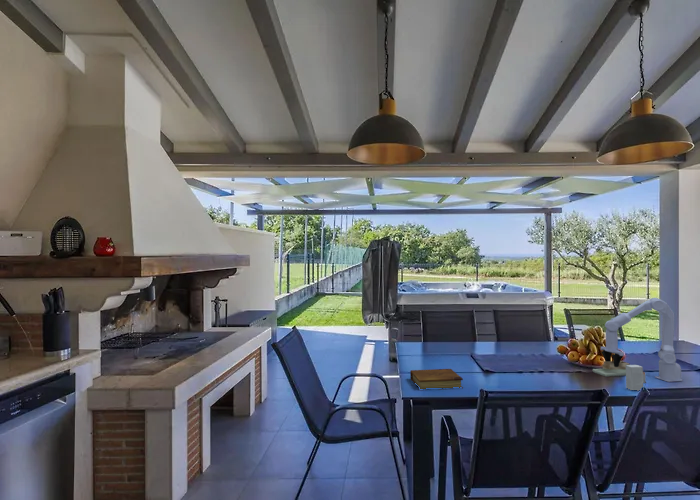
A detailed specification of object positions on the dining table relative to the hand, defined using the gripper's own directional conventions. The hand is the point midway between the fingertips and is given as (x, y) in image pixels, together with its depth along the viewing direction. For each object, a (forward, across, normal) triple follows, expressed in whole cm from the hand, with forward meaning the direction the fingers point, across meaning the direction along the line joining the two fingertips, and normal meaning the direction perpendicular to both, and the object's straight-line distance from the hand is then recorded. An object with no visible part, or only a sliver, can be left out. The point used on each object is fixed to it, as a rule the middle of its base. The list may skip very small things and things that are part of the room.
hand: (612, 365), depth 228 cm
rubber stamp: (+4, +17, +3) cm, 18 cm away
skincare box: (+5, +26, -11) cm, 29 cm away
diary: (+5, -1, -106) cm, 106 cm away
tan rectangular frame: (+2, 0, +3) cm, 3 cm away
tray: (+4, 0, +1) cm, 5 cm away
